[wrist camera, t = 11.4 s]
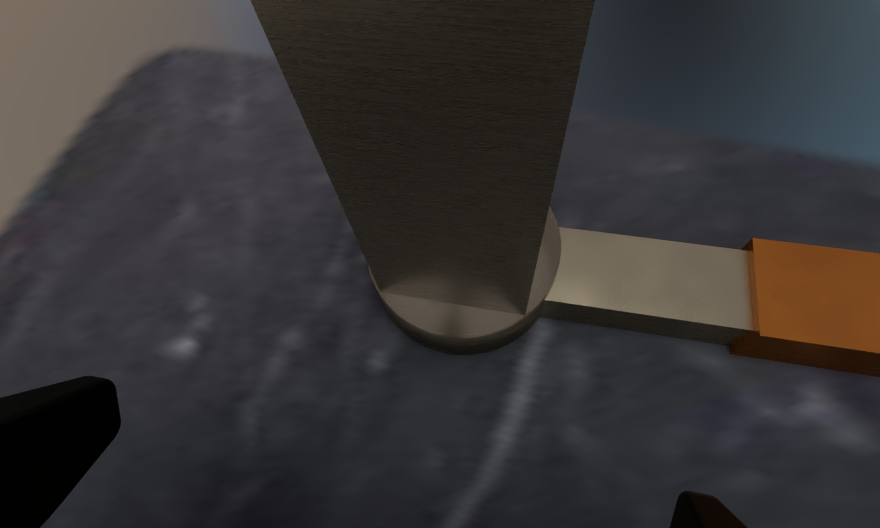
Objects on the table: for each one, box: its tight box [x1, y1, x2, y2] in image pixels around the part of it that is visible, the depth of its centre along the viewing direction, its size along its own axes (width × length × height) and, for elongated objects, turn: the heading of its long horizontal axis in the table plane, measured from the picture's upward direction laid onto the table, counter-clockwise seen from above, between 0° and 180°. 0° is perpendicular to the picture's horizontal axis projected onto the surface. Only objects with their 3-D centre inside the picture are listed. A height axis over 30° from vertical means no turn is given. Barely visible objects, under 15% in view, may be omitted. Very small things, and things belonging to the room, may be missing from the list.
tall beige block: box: [251, 0, 595, 315], centre depth 12 cm, size 5×5×12 cm
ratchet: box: [367, 206, 880, 377], centre depth 17 cm, size 22×7×5 cm, turn 79°
